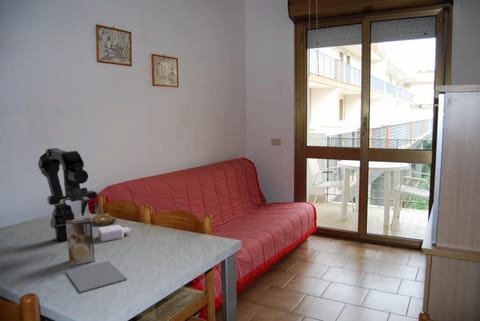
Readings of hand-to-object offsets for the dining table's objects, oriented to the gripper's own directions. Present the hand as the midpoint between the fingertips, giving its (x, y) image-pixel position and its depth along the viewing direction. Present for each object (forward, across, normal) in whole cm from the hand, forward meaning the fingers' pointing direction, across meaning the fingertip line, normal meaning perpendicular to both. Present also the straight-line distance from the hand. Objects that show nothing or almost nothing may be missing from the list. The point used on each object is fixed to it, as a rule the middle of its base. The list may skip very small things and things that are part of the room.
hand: (74, 217), depth 160 cm
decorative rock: (+14, +21, +31) cm, 39 cm away
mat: (+13, -2, -37) cm, 39 cm away
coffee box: (+13, -2, -19) cm, 23 cm away
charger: (+13, +18, +2) cm, 23 cm away
